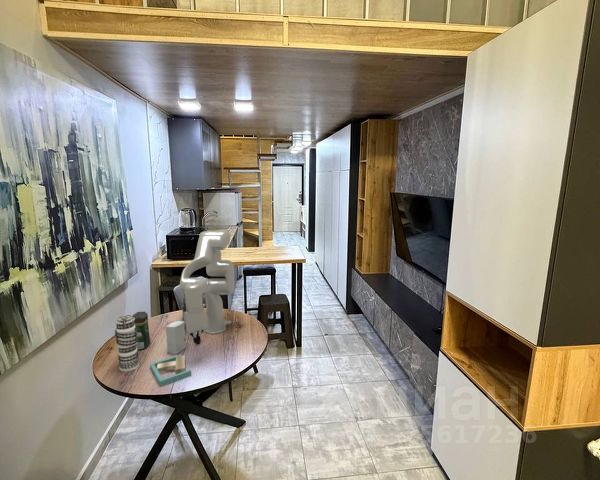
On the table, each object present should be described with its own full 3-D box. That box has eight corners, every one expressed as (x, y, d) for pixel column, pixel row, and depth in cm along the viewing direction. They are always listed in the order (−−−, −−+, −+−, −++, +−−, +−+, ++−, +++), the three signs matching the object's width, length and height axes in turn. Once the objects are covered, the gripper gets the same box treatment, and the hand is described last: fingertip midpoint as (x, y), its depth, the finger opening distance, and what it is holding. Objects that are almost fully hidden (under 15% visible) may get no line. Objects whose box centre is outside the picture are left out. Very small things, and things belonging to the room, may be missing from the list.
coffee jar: (136, 342, 177) (134, 310, 174) (151, 341, 178) (149, 309, 175) (130, 351, 168) (127, 317, 165) (146, 350, 169) (143, 316, 166)
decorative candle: (119, 363, 156) (115, 314, 152) (141, 359, 160) (136, 312, 155) (116, 373, 148) (111, 322, 144) (139, 369, 151) (134, 319, 147)
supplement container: (202, 318, 209) (201, 301, 207) (187, 323, 202) (185, 305, 200) (195, 314, 217) (194, 297, 215) (180, 318, 209) (179, 301, 207)
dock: (179, 359, 160) (179, 354, 159) (191, 375, 146) (191, 370, 146) (150, 368, 152) (149, 363, 151) (160, 386, 138) (159, 381, 138)
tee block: (185, 360, 159) (184, 355, 158) (185, 373, 148) (184, 367, 147) (158, 365, 155) (158, 359, 154) (156, 379, 144) (156, 373, 143)
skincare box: (176, 354, 164) (174, 327, 162) (166, 353, 166) (164, 326, 164) (186, 347, 172) (185, 321, 170) (177, 345, 174) (175, 319, 171)
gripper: (206, 302, 160) (208, 335, 164) (176, 309, 151) (179, 345, 155) (212, 307, 154) (214, 341, 158) (181, 315, 145) (184, 352, 149)
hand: (197, 343), depth 156 cm, fingers closed
